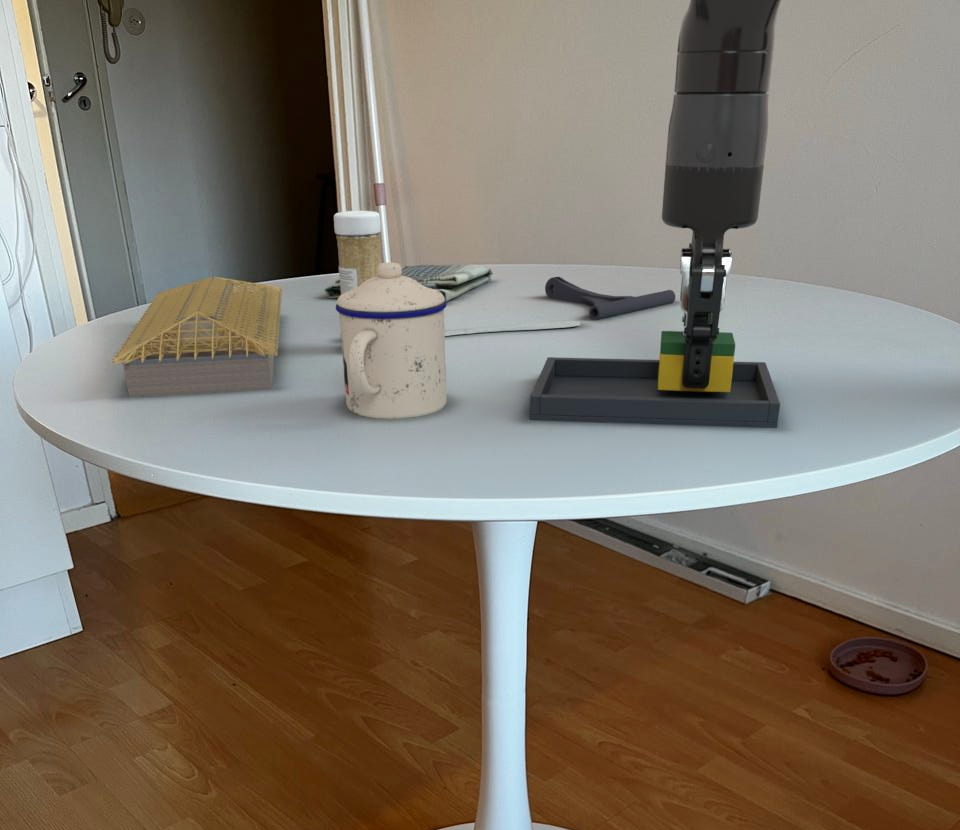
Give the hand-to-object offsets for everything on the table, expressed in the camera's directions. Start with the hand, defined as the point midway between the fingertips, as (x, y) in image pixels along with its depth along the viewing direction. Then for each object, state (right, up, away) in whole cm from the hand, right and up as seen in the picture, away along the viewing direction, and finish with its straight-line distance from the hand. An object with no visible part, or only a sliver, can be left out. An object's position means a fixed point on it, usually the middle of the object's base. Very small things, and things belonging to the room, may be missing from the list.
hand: (694, 378), depth 86 cm
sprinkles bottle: (-30, +8, +19) cm, 37 cm away
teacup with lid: (-26, -3, -1) cm, 26 cm away
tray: (-4, -2, 0) cm, 4 cm away
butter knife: (-20, +11, +25) cm, 34 cm away
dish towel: (-28, +25, +50) cm, 62 cm away
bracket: (-4, +19, +40) cm, 44 cm away
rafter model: (-46, +7, +19) cm, 51 cm away
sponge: (0, 0, 0) cm, 1 cm away
